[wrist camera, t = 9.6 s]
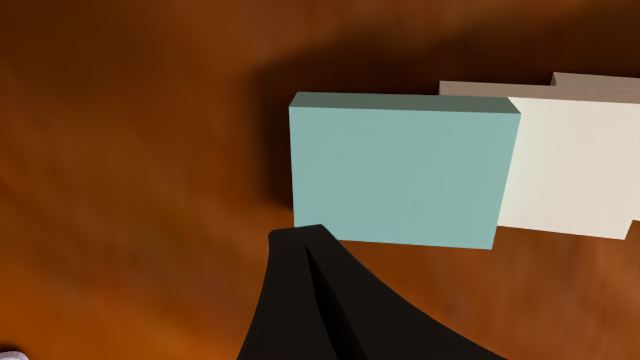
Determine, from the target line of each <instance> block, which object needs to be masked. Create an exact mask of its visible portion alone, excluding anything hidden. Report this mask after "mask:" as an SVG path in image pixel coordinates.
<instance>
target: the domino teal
mask: <svg viewBox="0 0 640 360" xmlns="http://www.w3.org/2000/svg"><path fill="white" fill-rule="evenodd" d="M289 119H290V140H291V162H292V183H293V204H294V226H295V227H301V226H308V225H316V224H322V225H323V226H325V227H326V228H327V229H328V230H329V231H330V232H331V234H332V235H333V236H334V237H335V238H336V239H337V240H353V241H369V242H384V243H400V244H415V245H431V246H446V247H462V248H478V249H492V245H493V240H494V236H495V231H496V227H497V222H498V218H499V213H500V209H501V204H502V200H503V195H504V191H505V186H506V182H507V177H508V173H509V168H510V164H511V159H512V155H513V150H514V146H515V141H516V137H517V132H518V128H519V123H520V119H521V113H520V111H519V110H518V109H517V108H516V107H515V105H514V104H513V103H512V102H511V101H510V100H509V98H508V97H477V96H438V95H400V94H361V93H322V92H297V94H296V95H295V97H294V99H293V101H292V102H291V104H290V106H289Z"/></svg>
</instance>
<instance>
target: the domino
mask: <svg viewBox="0 0 640 360" xmlns="http://www.w3.org/2000/svg"><path fill="white" fill-rule="evenodd" d="M438 96H477V97H508V98H509V100H510V101H511V102H512V103H513V104H514V105H515V107H516V108H517V109H518V110H519V111H520V113H521V119H520V123H519V128H518V132H517V137H516V141H515V146H514V150H513V155H512V159H511V164H510V168H509V173H508V177H507V182H506V186H505V191H504V195H503V200H502V204H501V209H500V213H499V218H498V222H497V225H499V226H508V227H517V228H526V229H535V230H544V231H552V232H561V233H570V234H579V235H588V236H597V237H606V238H615V239H623V240H625V237H626V235H627V232H628V230H629V227H630V224H631V222H632V219H633V217H634V214H635V212H636V209H637V207H638V204H639V202H640V90H625V89H604V88H583V87H562V86H540V85H519V84H498V83H477V82H455V81H440V84H439V93H438Z"/></svg>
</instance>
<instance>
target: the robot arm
mask: <svg viewBox="0 0 640 360" xmlns="http://www.w3.org/2000/svg"><path fill="white" fill-rule="evenodd" d="M268 239H269V257H268V264H267V269H266V274H265V279H264V283H263V288H262V291H261V295H260V298H259V301H258V304H257V308H256V311H255V314H254V317H253V320H252V323H251V325H250V328H249V331H248V333H247V336H246V339H245V341H244V343H243V346H242V348H241V350H240V353H239V355H238V357H237V359H236V360H507V359H505V358H503V357H501V356H499V355H497V354H495V353H493V352H491V351H489V350H487V349H485V348H483V347H481V346H479V345H477V344H476V343H474V342H472V341H470V340H468V339H467V338H465V337H463V336H461V335H459V334H458V333H456V332H454V331H452V330H451V329H449V328H447V327H446V326H444V325H442V324H441V323H439V322H437V321H436V320H434V319H433V318H431V317H430V316H428V315H427V314H425V313H424V312H422V311H421V310H419V309H418V308H416V307H415V306H413V305H412V304H410V303H409V302H408V301H406V300H405V299H404V298H402V297H401V296H400V295H398V294H397V293H396V292H395V291H393V290H392V289H391V288H390V287H388V286H387V285H386V284H385V283H383V282H382V281H381V280H380V279H379V278H377V277H376V276H375V275H374V274H373V273H372V272H371V271H370V270H368V269H367V268H366V267H365V266H364V265H363V264H362V263H361V262H360V261H358V260H357V259H356V258H355V257H354V256H353V255H352V254H351V253H350V252H349V251H348V250H347V249H346V248H345V247H344V246H343V245H342V244H341V243H340V242H339V241H338V240H337V239H336V238H335V237H334V236H333V235H332V234H331V232H330V231H329V230H328V229H327V228H326V227H325V226H323V225H322V224H316V225H308V226H301V227H293V228H286V229H278V230H272V231H271V232H270V233H269V234H268ZM0 360H28V358H27V357H26V356H25V355H24V354H23V353H21V352H17V351H9V352H3V353H0Z"/></svg>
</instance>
